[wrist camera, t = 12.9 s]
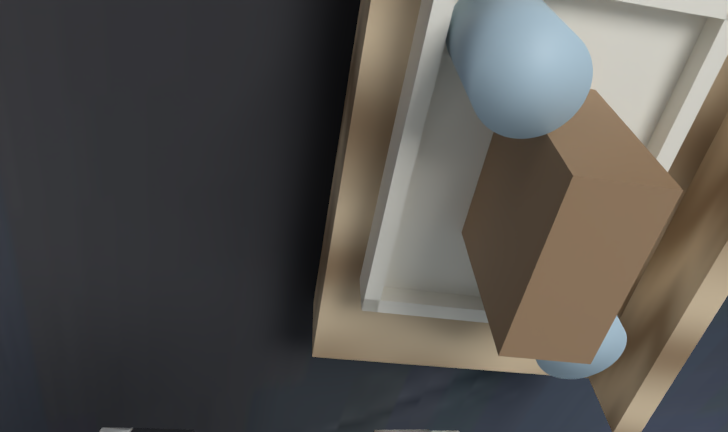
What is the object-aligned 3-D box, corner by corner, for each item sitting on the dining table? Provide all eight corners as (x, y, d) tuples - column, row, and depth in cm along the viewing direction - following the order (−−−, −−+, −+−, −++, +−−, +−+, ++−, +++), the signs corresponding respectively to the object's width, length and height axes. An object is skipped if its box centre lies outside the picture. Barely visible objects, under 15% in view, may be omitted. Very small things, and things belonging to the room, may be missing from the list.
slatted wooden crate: (587, 326, 32) (639, 434, 27) (313, 302, 31) (310, 413, 25) (831, -174, 20) (1014, -158, 15) (401, -263, 18) (432, -282, 13)
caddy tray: (571, 301, 27) (639, 446, 21) (359, 279, 25) (369, 426, 20) (721, -15, 19) (888, 70, 14) (436, -68, 18) (487, 2, 12)
